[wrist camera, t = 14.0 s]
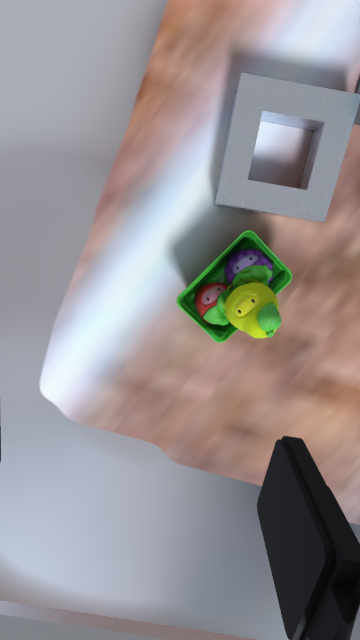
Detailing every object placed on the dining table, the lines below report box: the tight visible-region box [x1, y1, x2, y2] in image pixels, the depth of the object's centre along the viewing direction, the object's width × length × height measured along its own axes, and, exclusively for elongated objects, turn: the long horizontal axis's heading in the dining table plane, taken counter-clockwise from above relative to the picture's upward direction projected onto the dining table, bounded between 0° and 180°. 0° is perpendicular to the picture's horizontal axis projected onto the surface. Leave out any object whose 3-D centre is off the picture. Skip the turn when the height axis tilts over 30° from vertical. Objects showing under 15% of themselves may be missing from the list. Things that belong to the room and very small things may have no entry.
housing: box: [214, 72, 360, 222], centre depth 33 cm, size 12×12×3 cm
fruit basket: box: [177, 230, 292, 343], centre depth 34 cm, size 11×9×11 cm
